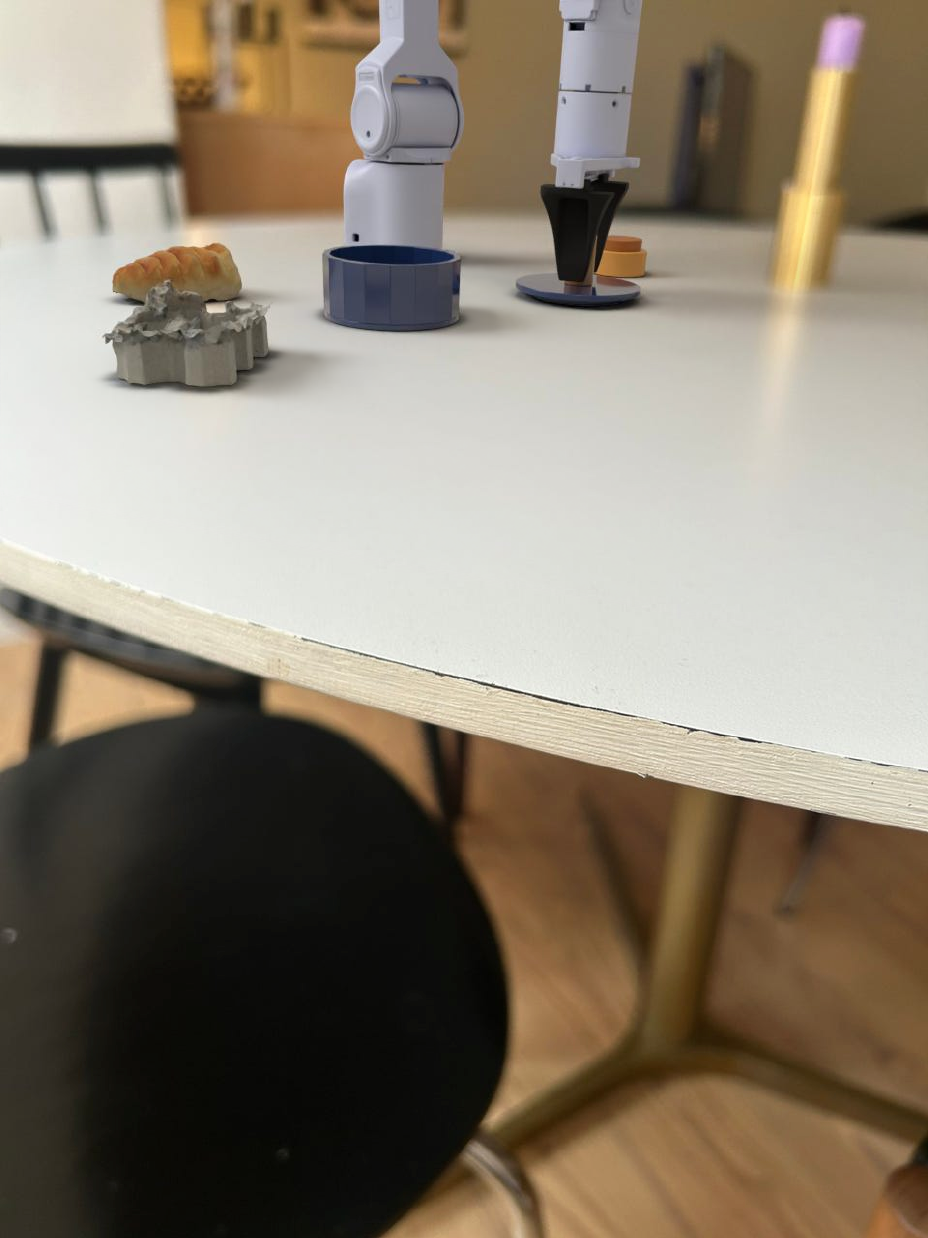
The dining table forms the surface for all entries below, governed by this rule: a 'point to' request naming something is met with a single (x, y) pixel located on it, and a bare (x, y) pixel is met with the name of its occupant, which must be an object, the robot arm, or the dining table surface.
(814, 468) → the dining table surface
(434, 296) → the pot
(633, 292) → the lid
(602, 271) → the stepped round knob
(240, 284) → the pastry
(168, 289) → the egg carton
